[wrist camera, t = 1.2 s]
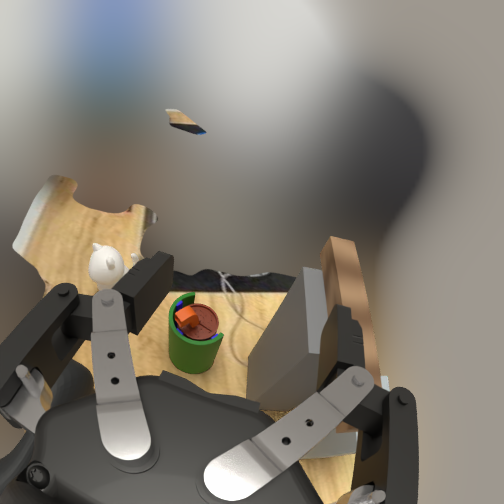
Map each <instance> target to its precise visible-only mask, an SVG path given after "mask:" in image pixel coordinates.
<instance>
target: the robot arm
mask: <svg viewBox="0 0 504 504" xmlns="http://www.w3.org/2000/svg"><path fill="white" fill-rule="evenodd" d="M173 264H174V257H173V256H172V255H170V254H167V253H164V252H160V251H158V252H157V253H156V254H155V255H154V256H153V257H152V258H151V259H149V258H145V259H143V260H140V261H138V262H137V263H136V264H135V265H134V266H133V267H132V269H130V270H129V271H128V272H127V273H126V274H125V275H124V276H123V277H122V278H121V279H120V280H119V281H118V282H117V283H116V284H115V285H114V286H113V287H112V288H111V289H103V290H100V291H98V292H97V293H96V294H95V295H94V296H90V295H83V294H78V291H77V288H76V286H75V285H73V284H71V283H61V284H58V285H56V286H55V287H54V288H53V289H52V290H51V291H50V292H49V293H48V294H47V295H46V296H45V297H44V298H43V299H42V300H41V301H40V302H39V303H38V304H37V305H36V306H35V307H34V308H33V309H32V310H31V311H30V312H29V313H28V314H27V316H26V317H25V318H24V319H23V320H22V321H21V322H20V323H19V325H17V327H16V328H15V329H14V330H13V331H12V332H11V333H10V335H9V336H8V337H7V338H6V339H5V340H4V341H3V342H2V343H1V345H0V414H1V415H2V416H3V417H4V418H5V419H6V420H7V421H8V422H9V423H10V424H11V425H12V426H13V427H15V428H24V429H25V430H26V433H25V434H24V436H23V438H22V439H21V440H20V442H19V443H18V444H17V446H16V447H15V448H14V449H13V450H12V451H11V452H10V453H9V454H8V455H7V456H5V457H4V458H2V459H0V504H324V503H323V502H322V500H321V498H320V497H319V495H318V493H317V492H316V490H315V488H314V487H313V485H312V483H311V482H310V480H309V478H308V477H307V475H306V473H305V471H304V470H303V468H302V466H301V464H300V463H299V461H298V460H300V459H301V458H302V457H303V456H304V455H306V454H307V453H308V452H309V451H310V450H311V449H313V448H314V447H315V446H316V445H317V444H318V443H319V442H321V441H322V440H323V439H324V438H325V437H326V436H327V435H328V434H329V433H330V432H331V431H333V430H334V429H335V428H336V427H337V426H338V425H339V424H340V423H341V422H342V421H343V422H345V423H347V424H349V425H351V426H353V427H355V428H357V429H358V436H357V446H356V456H355V464H354V471H353V479H352V485H351V491H350V492H348V493H346V494H344V495H342V496H341V497H340V498H339V499H338V501H337V503H336V504H417V500H418V479H419V478H418V477H419V474H418V473H419V450H418V449H419V447H418V425H417V410H416V400H415V397H414V395H413V394H412V393H411V392H410V391H409V390H407V389H406V388H403V387H396V388H394V389H392V390H391V391H390V392H389V391H387V390H385V389H383V388H381V387H379V386H377V385H376V384H374V379H373V377H372V375H371V374H370V372H369V371H367V370H366V369H365V354H364V345H363V344H364V342H363V331H362V327H361V326H360V324H359V322H358V320H354V319H352V315H351V308H350V307H346V306H343V305H339V304H335V305H334V307H333V309H332V311H331V313H330V315H329V317H328V319H327V321H326V323H325V325H324V327H323V330H322V334H321V339H320V354H319V366H318V378H317V388H316V393H314V394H313V395H312V396H310V397H309V398H308V399H307V400H305V401H304V402H303V403H301V404H300V405H299V406H297V407H296V408H295V409H293V410H292V411H291V412H289V413H288V414H287V415H285V416H284V417H282V418H281V419H280V420H278V421H277V422H275V421H274V420H273V419H272V418H271V417H270V416H268V415H267V414H265V413H264V412H262V411H260V410H259V407H260V403H259V402H256V401H252V400H249V399H245V398H242V397H238V396H233V395H222V394H212V393H208V392H206V391H204V390H203V389H201V388H199V387H198V386H196V385H195V384H193V383H192V382H190V381H188V380H187V379H185V378H182V377H180V376H177V375H174V374H172V373H169V372H167V371H164V370H163V371H162V373H161V375H160V376H153V375H146V376H139V377H135V372H134V367H133V362H132V357H131V351H130V345H129V340H128V334H129V333H130V332H131V333H133V334H135V335H138V334H139V332H140V331H141V330H142V328H143V327H144V325H145V324H146V323H147V321H148V320H149V319H150V317H151V316H152V314H153V313H154V312H155V310H156V309H157V308H158V306H159V305H160V304H161V302H162V301H163V299H164V298H165V297H166V295H167V294H168V293H169V291H170V289H171V286H172V282H173V266H174V265H173ZM85 340H89V341H91V348H92V362H93V373H94V381H93V377H92V374H91V372H90V371H89V370H88V369H87V368H86V367H85V366H83V365H82V364H80V363H78V362H77V361H75V360H73V359H72V358H73V356H74V355H75V353H76V352H77V351H78V349H79V348H80V346H81V345H82V344H83V342H84V341H85ZM94 383H95V389H94V388H93V387H94Z"/></svg>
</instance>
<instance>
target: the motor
mask: <svg viewBox="0 0 504 504" xmlns="http://www.w3.org/2000/svg"><path fill="white" fill-rule="evenodd" d="M194 299H195V292H191V293H187V294H184V295H182V296H180V297H179V298H177V299H176V300H175V301H174V303H173V304H172V306H171V308H170V311H169V356H170V359H171V361H172V362H173V364H174V365H175V366H176V367H177V368H178V369H180V370H181V371H183V372H186V373H190V374H198V373H202V372H205V371H207V370H208V369H209V368H210V367H211V366H212V365H213V362H214V359H215V357H216V354H217V352H218V349H219V346H220V344H221V341H222V338H223V336H224V334H222V333H220V334H219V335H218V334H216V332H217V329H218V325H219V321H218V317H217V315H216V313H215V312H214V311H213V310H212V309H211V308H210V307H208V306H206V305H203V304H194Z"/></svg>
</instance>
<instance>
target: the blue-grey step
mask: <svg viewBox="0 0 504 504" xmlns="http://www.w3.org/2000/svg"><path fill="white" fill-rule="evenodd" d="M381 383H382V388H383V389H385V390H387V391H389V392H390V390H389V382H388V376H381ZM357 436H358V432H349V433H336V428H335V429H334V430H333V431H331V432H330V433H329V434H328V435H327V436H326V437H325V438H324V439H323V440H322V441H321V442H319V443H318V444H317V445H316V446H315V447H314V448H313V449H311V450H310V451H309V452H308V453H307V454H306V455H304V456H303V457H302V458H301V459H313V458H327V457H336V456H343V455H349V454H355V453H356V446H357Z"/></svg>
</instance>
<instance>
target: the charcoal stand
mask: <svg viewBox="0 0 504 504" xmlns="http://www.w3.org/2000/svg"><path fill="white" fill-rule="evenodd" d="M327 319H328V313H327V304H326V296H325V288H324V280H323V272H322V270H318V269H311V268H307V267H303V268H302V270H301V271H300V273H299V275H298V276H297V278H296V280H295V281H294V283H293V285H292V287H291V288H290V290H289V292H288V293H287V295H286V297H285V298H284V300H283V302H282V303H281V305H280V307H279V308H278V310H277V312H276V313H275V315H274V316H273V318H272V320H271V321H270V323H269V325H268V326H267V328H266V329H265V331H264V333H263V334H262V336H261V337H260V339H259V341H258V342H257V344H256V345H255V347H254V348H253V350H252V352H251V353H250V355H249V356H248V374H247V391H246V399H249V400H252V401H256V402H259V403H260V407H259V410H273V411H289V410H291V409H293V408H295V407H297V406H298V405H300V404H301V403H303V402H304V401H305V400H307V399H308V398H309V397H310V396H312V395H313V394H314V393H316V388H317V378H318V366H319V354H320V339H321V334H322V330H323V327H324V325H325V323H326V321H327Z"/></svg>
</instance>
